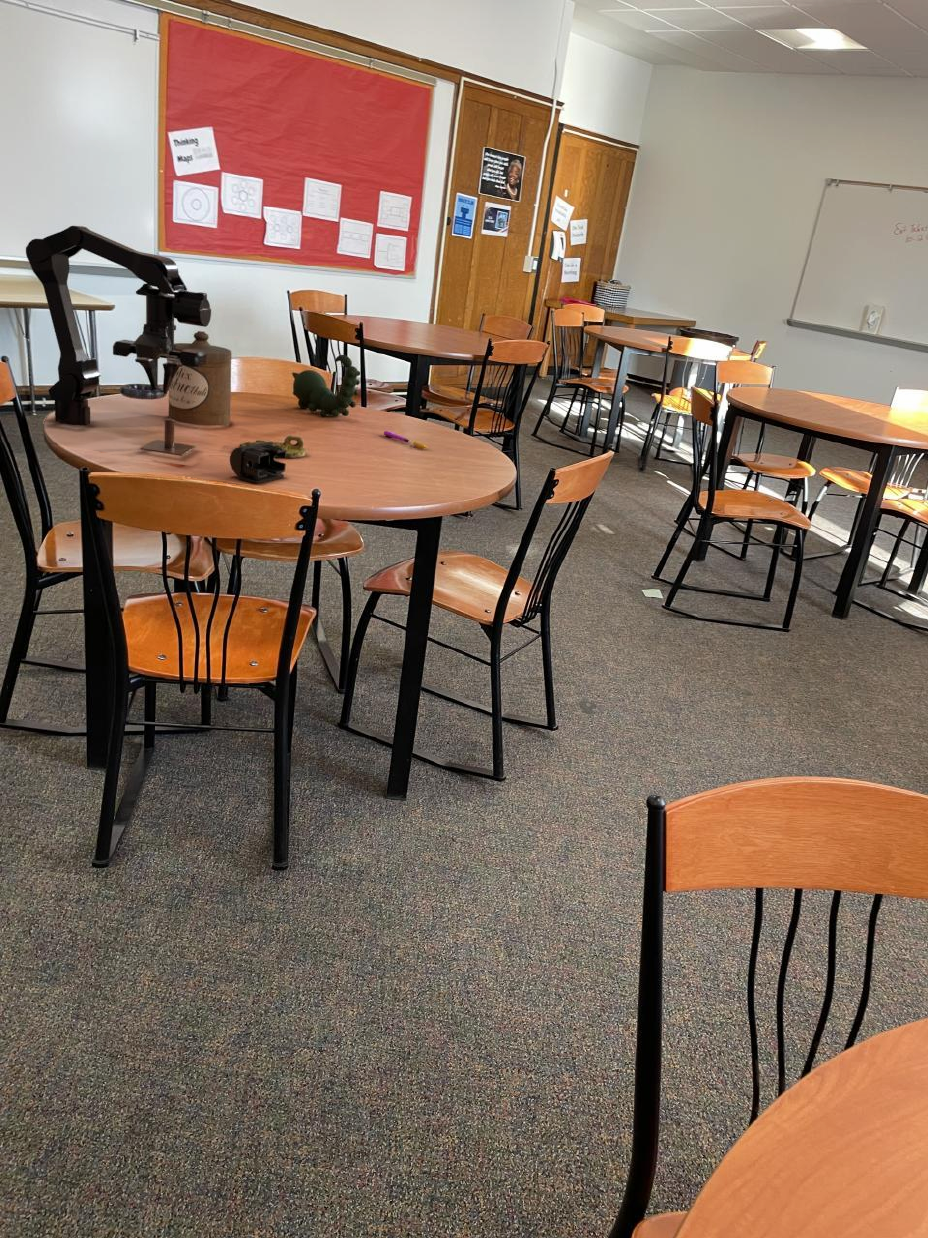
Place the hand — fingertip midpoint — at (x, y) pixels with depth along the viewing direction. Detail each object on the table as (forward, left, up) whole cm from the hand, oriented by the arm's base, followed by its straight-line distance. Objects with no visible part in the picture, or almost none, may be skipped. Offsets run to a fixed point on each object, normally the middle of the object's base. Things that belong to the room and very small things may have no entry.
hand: (160, 393), depth 198 cm
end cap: (+27, -15, -11) cm, 33 cm away
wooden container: (0, +26, -11) cm, 28 cm away
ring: (-4, 0, 0) cm, 4 cm away
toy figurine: (+23, +61, -11) cm, 66 cm away
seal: (+24, +7, -11) cm, 27 cm away
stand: (+5, -7, -11) cm, 14 cm away
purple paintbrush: (+51, +41, -11) cm, 66 cm away
